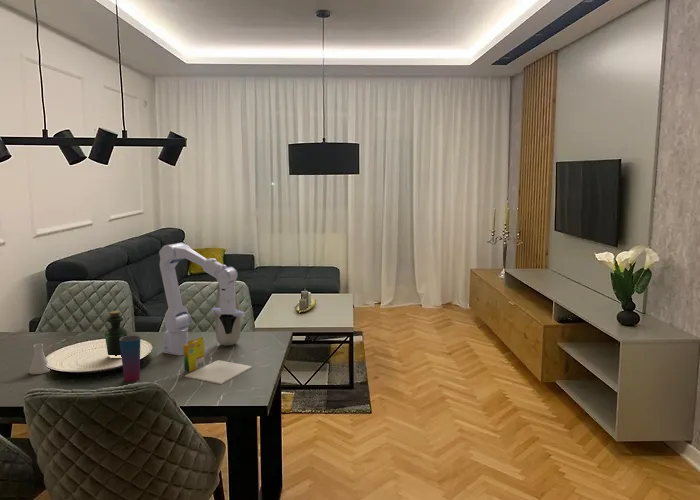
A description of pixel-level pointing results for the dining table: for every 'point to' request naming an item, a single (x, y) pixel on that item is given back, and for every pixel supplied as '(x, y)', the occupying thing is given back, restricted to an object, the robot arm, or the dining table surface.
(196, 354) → the crayon box
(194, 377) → the mat
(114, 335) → the potion bottle
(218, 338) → the tall grey vase
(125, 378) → the cup
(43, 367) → the flask
